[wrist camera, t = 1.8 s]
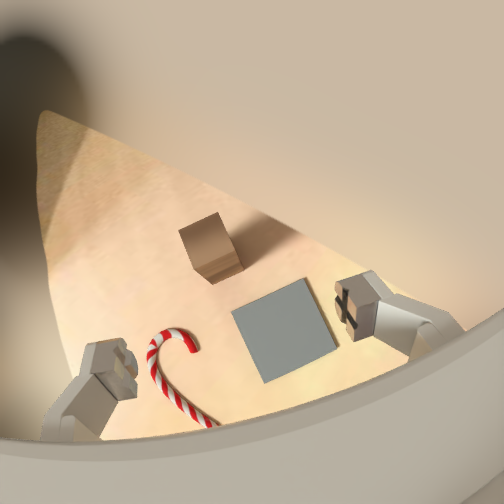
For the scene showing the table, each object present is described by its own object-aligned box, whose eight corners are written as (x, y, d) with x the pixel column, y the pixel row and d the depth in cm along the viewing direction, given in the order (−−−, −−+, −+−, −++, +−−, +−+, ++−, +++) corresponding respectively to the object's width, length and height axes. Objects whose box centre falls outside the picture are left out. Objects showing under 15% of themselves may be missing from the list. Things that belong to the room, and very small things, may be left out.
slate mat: (336, 348, 37) (337, 348, 36) (264, 382, 36) (264, 383, 36) (302, 278, 39) (303, 278, 39) (231, 312, 39) (231, 311, 38)
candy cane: (195, 442, 34) (133, 349, 37) (198, 439, 35) (137, 348, 39) (244, 415, 34) (178, 318, 38) (245, 413, 36) (181, 319, 39)
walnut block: (244, 270, 40) (235, 250, 30) (212, 284, 40) (193, 269, 30) (230, 240, 41) (217, 212, 31) (199, 254, 41) (178, 230, 31)
